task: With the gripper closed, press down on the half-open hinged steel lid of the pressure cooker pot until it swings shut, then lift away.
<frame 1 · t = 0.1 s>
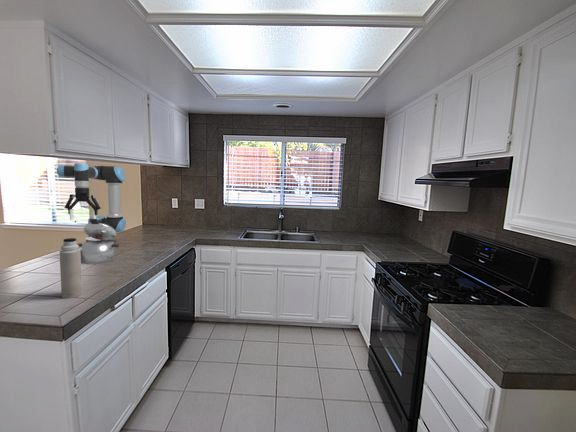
hand: (83, 219, 190), 28 cm above the countertop, tool pointing down, fingers open, 13 cm apart
thermos bottle: (72, 295, 141), on the countertop
cooker lid: (99, 228, 198), point 21 cm above the countertop, hinge at 45.0°
plastic cup: (94, 254, 212), on the countertop
cooker pot: (98, 260, 198), on the countertop
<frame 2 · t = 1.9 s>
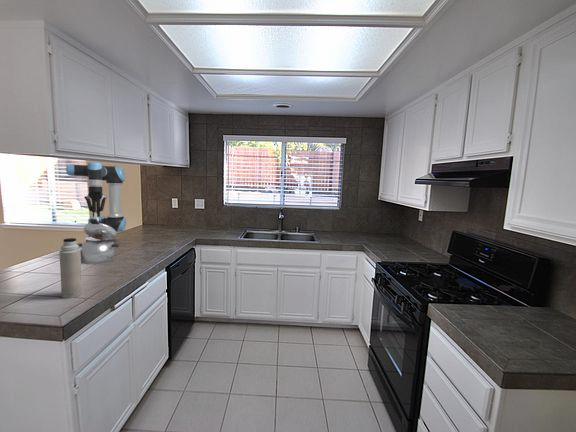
hand: (96, 221, 193), 27 cm above the countertop, tool pointing down, fingers closed
cooker lid: (99, 228, 198), point 21 cm above the countertop, hinge at 44.7°, touching gripper
everything else where it was.
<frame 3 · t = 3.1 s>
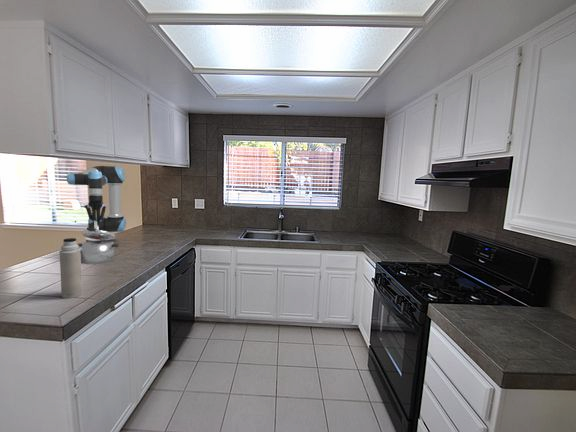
hand: (96, 230, 193), 21 cm above the countertop, tool pointing down, fingers closed
cooker lid: (98, 232, 196), point 19 cm above the countertop, hinge at 28.6°, touching gripper
everything else where it was.
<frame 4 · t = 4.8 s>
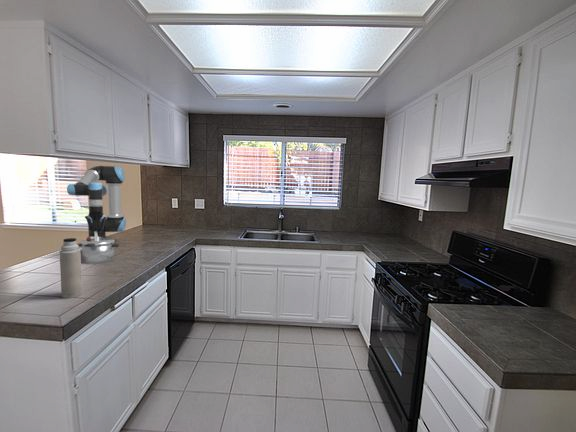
hand: (96, 240, 194), 14 cm above the countertop, tool pointing down, fingers closed
cooker lid: (96, 240, 194), point 14 cm above the countertop, hinge at 0.8°, touching gripper
everything else where it was.
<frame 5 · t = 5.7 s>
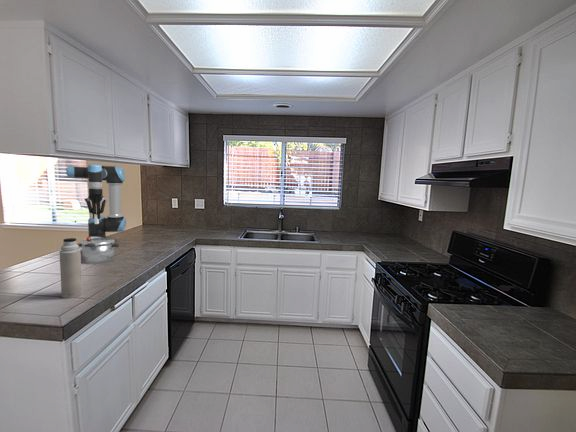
hand: (96, 223, 193), 26 cm above the countertop, tool pointing down, fingers closed
cooker lid: (96, 240, 194), point 14 cm above the countertop, hinge at 0.7°
everything else where it was.
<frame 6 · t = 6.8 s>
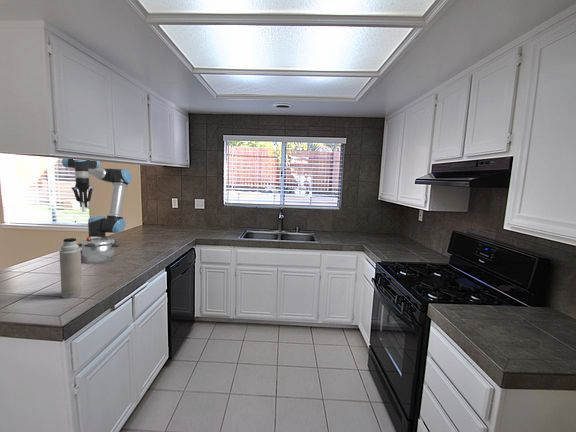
hand: (84, 211, 201), 32 cm above the countertop, tool pointing down, fingers closed
nothing on the countertop moved.
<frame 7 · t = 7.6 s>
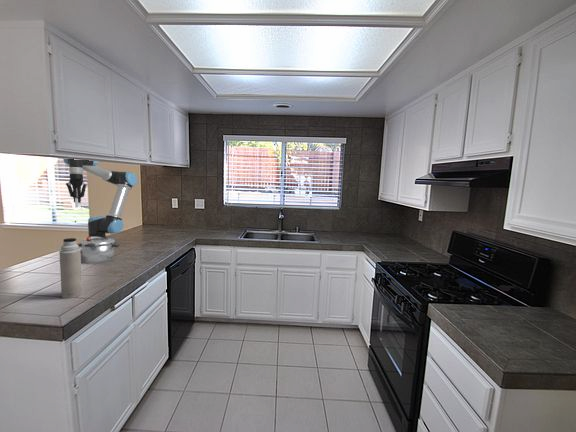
hand: (77, 207, 204), 34 cm above the countertop, tool pointing down, fingers closed
nothing on the countertop moved.
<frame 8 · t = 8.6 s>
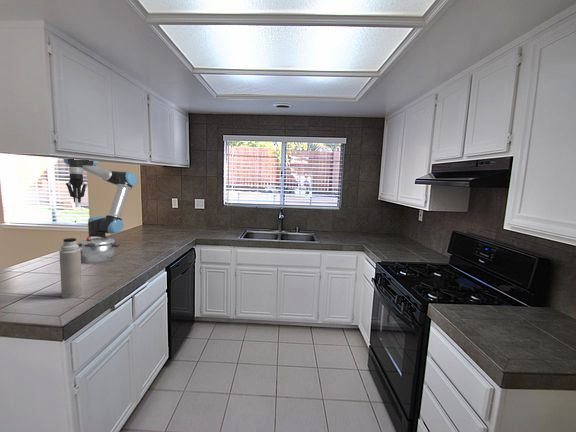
hand: (77, 207, 204), 34 cm above the countertop, tool pointing down, fingers closed
nothing on the countertop moved.
at the end: cooker lid at +1° (first picture: +45°) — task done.
